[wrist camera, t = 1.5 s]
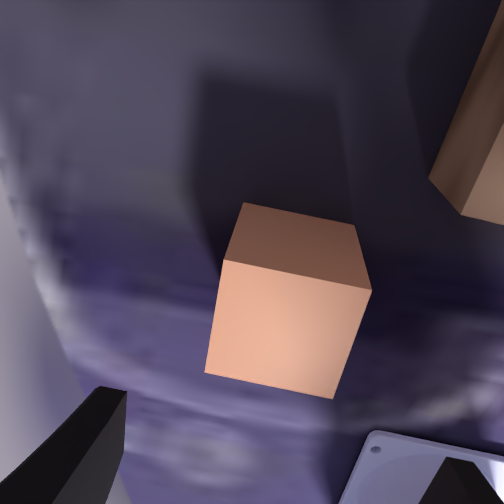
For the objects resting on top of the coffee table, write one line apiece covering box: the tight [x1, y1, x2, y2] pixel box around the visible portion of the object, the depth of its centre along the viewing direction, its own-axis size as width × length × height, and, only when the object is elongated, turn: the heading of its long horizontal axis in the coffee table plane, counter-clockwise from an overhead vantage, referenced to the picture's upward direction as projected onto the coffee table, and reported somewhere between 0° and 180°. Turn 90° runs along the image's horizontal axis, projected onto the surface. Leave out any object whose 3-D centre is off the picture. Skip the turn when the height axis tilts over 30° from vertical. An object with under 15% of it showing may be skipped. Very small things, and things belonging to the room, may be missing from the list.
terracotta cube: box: [205, 202, 372, 399], centre depth 16 cm, size 4×4×5 cm
